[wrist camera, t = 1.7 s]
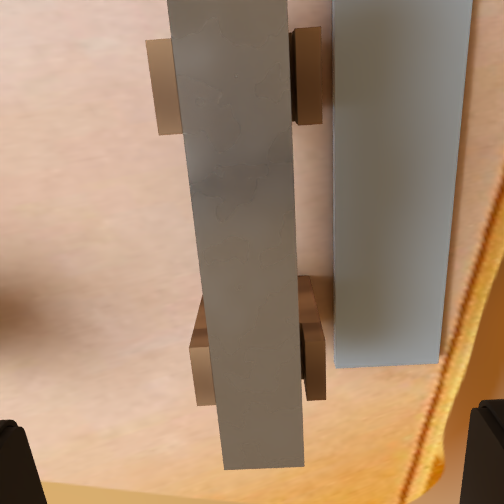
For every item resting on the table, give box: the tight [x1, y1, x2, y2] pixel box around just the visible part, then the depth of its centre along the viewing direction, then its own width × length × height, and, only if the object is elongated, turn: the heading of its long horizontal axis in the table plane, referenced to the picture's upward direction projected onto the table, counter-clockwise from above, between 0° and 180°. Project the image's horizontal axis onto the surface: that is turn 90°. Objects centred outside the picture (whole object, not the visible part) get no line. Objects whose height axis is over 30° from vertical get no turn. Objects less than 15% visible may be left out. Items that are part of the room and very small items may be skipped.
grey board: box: [332, 0, 473, 368], centre depth 27 cm, size 24×7×1 cm, turn 4°
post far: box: [189, 276, 326, 406], centre depth 27 cm, size 4×7×8 cm, turn 94°
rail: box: [167, 0, 304, 470], centre depth 20 cm, size 22×4×4 cm, turn 4°
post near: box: [145, 27, 323, 135], centre depth 22 cm, size 4×7×8 cm, turn 94°
